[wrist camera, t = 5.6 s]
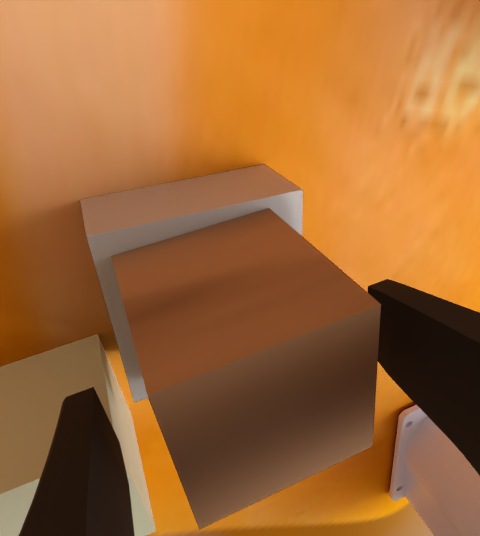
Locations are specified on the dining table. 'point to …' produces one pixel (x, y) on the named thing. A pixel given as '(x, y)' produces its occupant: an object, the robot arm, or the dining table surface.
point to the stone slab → (175, 228)
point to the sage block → (45, 421)
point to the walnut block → (250, 357)
